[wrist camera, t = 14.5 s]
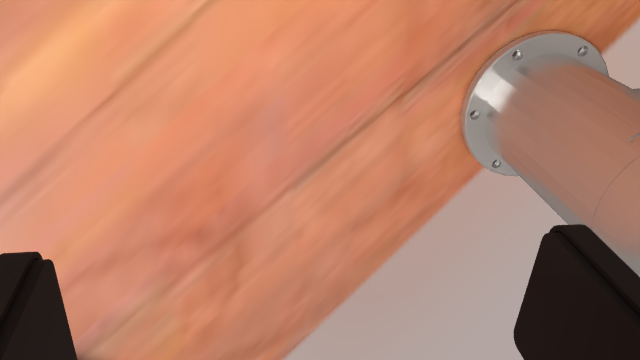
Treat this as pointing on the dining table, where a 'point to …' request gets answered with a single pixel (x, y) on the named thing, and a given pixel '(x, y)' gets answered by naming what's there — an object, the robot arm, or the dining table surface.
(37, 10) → the dining table surface
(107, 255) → the dining table surface
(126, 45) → the dining table surface
